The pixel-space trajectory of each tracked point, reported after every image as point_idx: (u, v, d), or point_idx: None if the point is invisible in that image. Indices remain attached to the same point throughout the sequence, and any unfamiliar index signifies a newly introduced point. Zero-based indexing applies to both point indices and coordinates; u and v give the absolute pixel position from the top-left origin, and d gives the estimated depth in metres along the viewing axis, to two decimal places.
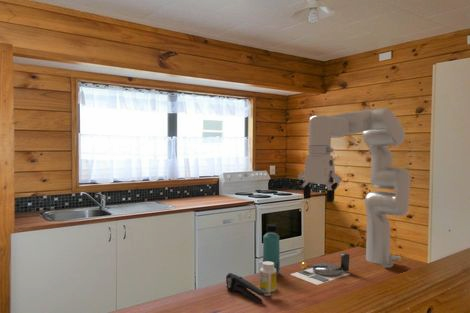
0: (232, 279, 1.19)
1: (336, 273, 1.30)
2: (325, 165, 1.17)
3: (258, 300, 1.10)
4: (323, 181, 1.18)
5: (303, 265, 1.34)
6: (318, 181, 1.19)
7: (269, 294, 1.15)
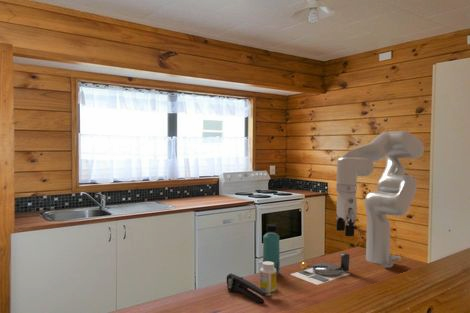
0: (233, 280, 1.18)
1: (336, 273, 1.30)
2: (344, 202, 1.31)
3: (260, 300, 1.09)
4: (343, 216, 1.32)
5: (303, 265, 1.34)
6: (341, 216, 1.34)
7: (269, 294, 1.15)
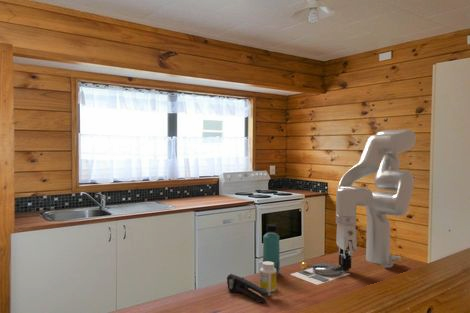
0: (234, 280, 1.18)
1: (336, 273, 1.30)
2: (343, 234, 1.32)
3: (262, 300, 1.10)
4: (343, 248, 1.32)
5: (303, 265, 1.34)
6: (341, 247, 1.34)
7: (269, 294, 1.15)
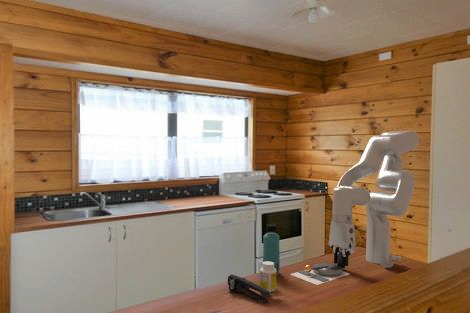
0: (235, 280, 1.17)
1: (339, 272, 1.32)
2: (345, 233, 1.34)
3: (265, 300, 1.10)
4: (344, 246, 1.34)
5: (308, 268, 1.31)
6: (340, 246, 1.36)
7: None
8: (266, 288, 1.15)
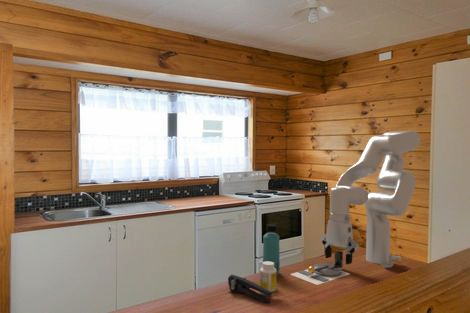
0: (236, 281, 1.17)
1: (341, 272, 1.32)
2: (344, 232, 1.35)
3: (266, 300, 1.10)
4: (342, 246, 1.36)
5: (312, 269, 1.29)
6: (338, 245, 1.37)
7: None
8: (266, 288, 1.15)
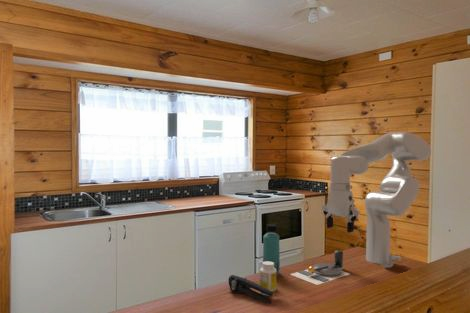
0: (236, 281, 1.17)
1: (341, 272, 1.32)
2: (345, 200, 1.35)
3: (268, 300, 1.10)
4: (344, 214, 1.36)
5: (312, 269, 1.29)
6: (339, 214, 1.38)
7: None
8: (266, 288, 1.15)
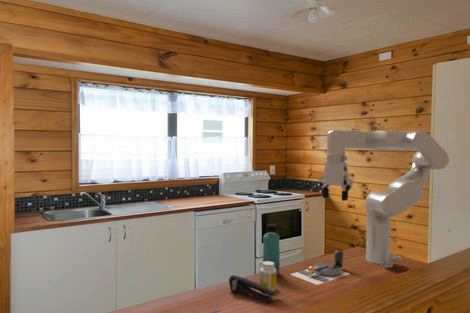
0: (237, 281, 1.16)
1: (341, 272, 1.32)
2: (340, 170, 1.45)
3: (269, 300, 1.10)
4: (338, 183, 1.45)
5: (312, 269, 1.29)
6: (334, 183, 1.47)
7: None
8: None
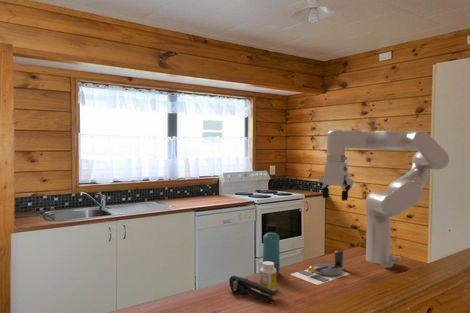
0: (238, 282, 1.16)
1: (341, 272, 1.32)
2: (340, 170, 1.45)
3: (270, 300, 1.10)
4: (338, 183, 1.45)
5: (312, 269, 1.29)
6: (334, 183, 1.47)
7: None
8: None
